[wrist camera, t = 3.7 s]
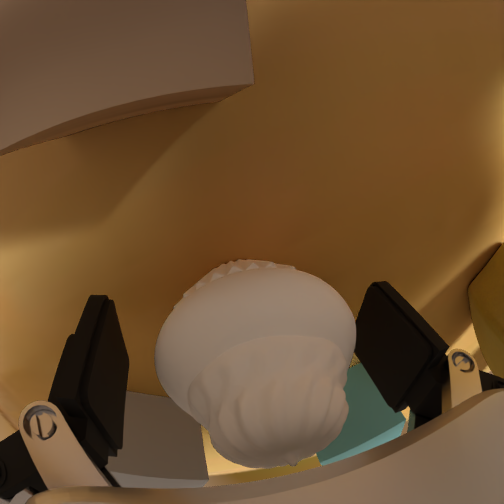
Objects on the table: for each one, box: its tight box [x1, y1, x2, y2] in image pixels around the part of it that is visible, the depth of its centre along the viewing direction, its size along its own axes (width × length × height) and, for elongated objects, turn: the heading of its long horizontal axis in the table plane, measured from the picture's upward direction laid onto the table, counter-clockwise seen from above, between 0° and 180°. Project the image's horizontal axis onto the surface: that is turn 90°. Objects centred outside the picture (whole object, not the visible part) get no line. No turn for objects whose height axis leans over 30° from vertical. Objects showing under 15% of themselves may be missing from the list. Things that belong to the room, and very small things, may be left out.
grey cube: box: [106, 391, 209, 489], centre depth 12 cm, size 5×5×5 cm
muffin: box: [154, 259, 356, 469], centre depth 8 cm, size 6×6×7 cm
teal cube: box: [316, 363, 406, 466], centre depth 14 cm, size 5×5×5 cm
